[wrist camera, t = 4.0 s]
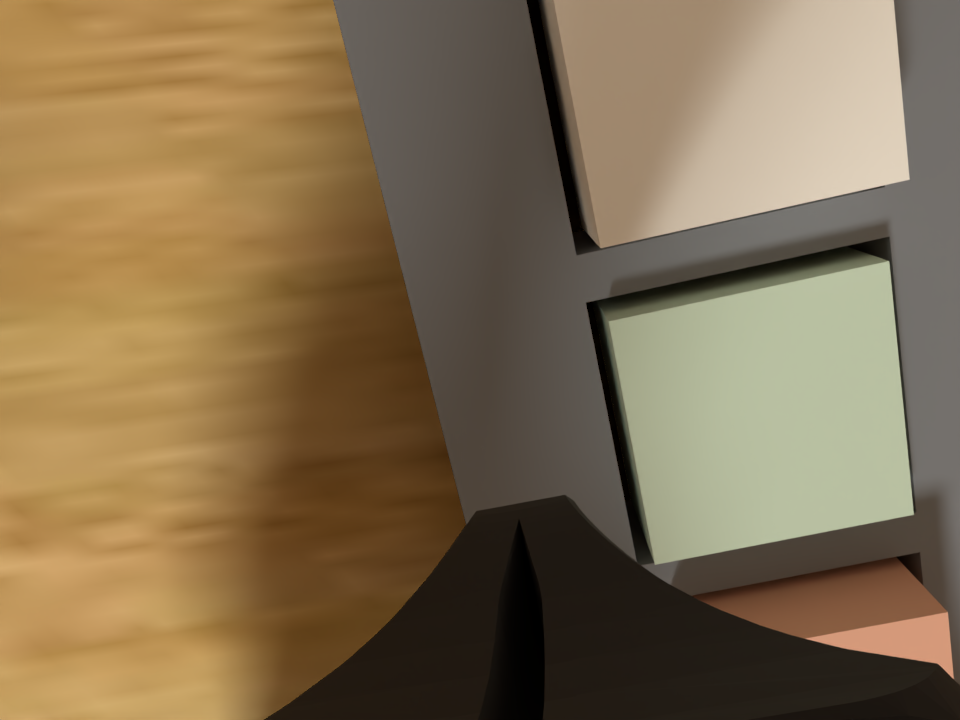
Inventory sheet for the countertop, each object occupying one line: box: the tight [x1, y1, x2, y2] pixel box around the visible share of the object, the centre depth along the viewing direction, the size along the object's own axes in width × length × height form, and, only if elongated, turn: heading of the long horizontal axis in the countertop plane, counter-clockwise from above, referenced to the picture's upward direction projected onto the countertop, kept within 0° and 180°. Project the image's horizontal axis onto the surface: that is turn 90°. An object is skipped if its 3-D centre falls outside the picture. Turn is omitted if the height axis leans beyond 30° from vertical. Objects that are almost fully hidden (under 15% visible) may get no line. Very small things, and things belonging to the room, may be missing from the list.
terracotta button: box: [692, 557, 954, 679], centre depth 18 cm, size 5×5×3 cm
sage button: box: [592, 246, 914, 565], centre depth 17 cm, size 5×5×3 cm
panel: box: [333, 0, 960, 685], centre depth 18 cm, size 21×12×3 cm, turn 13°
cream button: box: [538, 0, 910, 248], centre depth 14 cm, size 5×5×3 cm
